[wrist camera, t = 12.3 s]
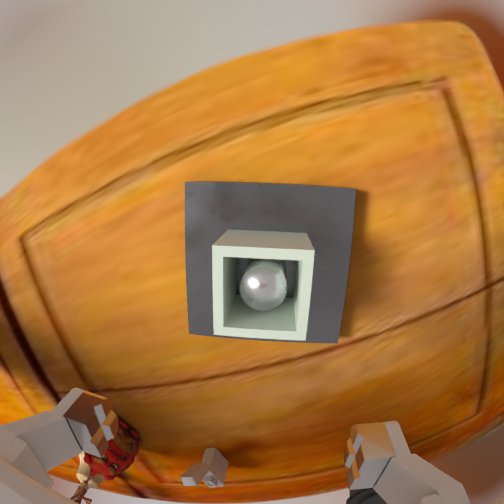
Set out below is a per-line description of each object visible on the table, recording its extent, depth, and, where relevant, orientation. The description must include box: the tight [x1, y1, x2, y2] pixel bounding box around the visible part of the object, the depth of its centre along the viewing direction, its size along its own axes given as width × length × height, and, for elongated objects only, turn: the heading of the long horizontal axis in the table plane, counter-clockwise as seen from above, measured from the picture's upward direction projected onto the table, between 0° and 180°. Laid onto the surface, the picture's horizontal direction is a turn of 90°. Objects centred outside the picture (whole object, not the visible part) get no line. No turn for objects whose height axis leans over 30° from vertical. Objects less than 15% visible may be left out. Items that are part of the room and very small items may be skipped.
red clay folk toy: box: [73, 417, 141, 504], centre depth 28 cm, size 8×7×15 cm
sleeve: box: [212, 229, 315, 341], centre depth 22 cm, size 6×6×6 cm
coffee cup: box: [346, 488, 387, 504], centre depth 27 cm, size 8×8×10 cm
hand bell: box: [70, 451, 105, 504], centre depth 31 cm, size 8×8×16 cm
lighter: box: [180, 447, 229, 488], centre depth 30 cm, size 7×2×8 cm, turn 24°
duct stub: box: [185, 182, 356, 343], centre depth 23 cm, size 14×14×6 cm
